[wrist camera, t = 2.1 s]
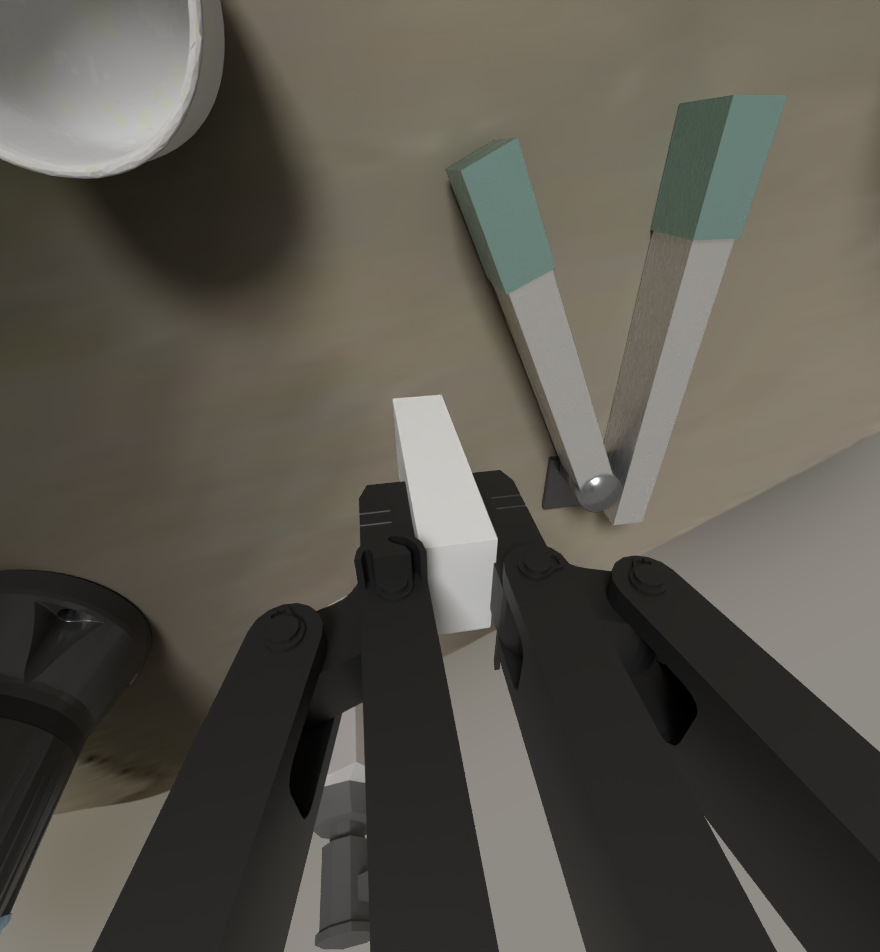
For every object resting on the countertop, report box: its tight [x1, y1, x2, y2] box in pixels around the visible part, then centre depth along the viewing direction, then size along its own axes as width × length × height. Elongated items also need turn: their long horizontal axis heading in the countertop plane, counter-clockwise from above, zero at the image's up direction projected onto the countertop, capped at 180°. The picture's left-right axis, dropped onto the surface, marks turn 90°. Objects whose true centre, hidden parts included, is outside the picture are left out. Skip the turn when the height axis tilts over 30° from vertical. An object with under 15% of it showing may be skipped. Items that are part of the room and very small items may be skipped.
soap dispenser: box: [313, 596, 370, 949], centre depth 35 cm, size 6×9×22 cm
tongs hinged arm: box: [445, 137, 622, 512], centre depth 29 cm, size 3×24×4 cm, turn 26°
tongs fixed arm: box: [542, 95, 787, 525], centre depth 30 cm, size 8×27×4 cm, turn 1°
